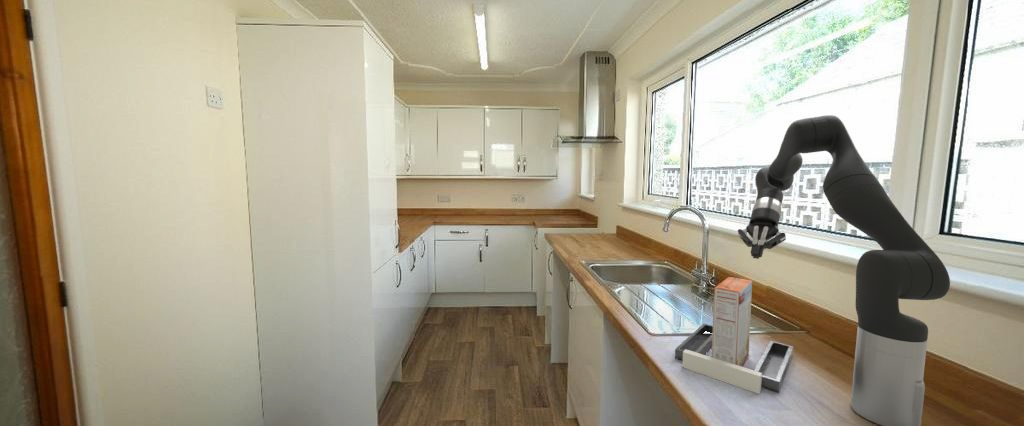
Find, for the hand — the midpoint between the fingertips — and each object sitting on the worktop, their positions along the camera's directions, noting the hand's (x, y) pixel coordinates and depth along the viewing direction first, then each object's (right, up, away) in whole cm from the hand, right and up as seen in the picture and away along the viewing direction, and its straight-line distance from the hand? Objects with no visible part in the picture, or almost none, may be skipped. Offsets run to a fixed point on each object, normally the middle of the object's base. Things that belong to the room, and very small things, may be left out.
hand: (755, 256), depth 107 cm
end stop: (-25, -26, -23) cm, 43 cm away
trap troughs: (-15, -25, -13) cm, 32 cm away
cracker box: (-18, -25, -16) cm, 35 cm away
